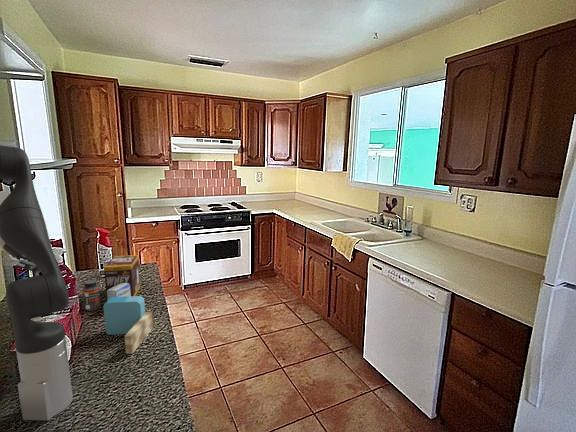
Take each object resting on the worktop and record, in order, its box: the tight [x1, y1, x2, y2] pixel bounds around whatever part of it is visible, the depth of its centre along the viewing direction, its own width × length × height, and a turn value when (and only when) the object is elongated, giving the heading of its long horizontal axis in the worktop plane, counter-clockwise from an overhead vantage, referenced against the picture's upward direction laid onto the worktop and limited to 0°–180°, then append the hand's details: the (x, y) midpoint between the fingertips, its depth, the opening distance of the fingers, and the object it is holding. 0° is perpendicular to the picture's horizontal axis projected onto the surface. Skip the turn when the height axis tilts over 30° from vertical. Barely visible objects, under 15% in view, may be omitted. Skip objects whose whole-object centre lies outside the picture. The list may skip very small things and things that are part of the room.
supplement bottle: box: [81, 279, 102, 312], centre depth 126 cm, size 6×6×11 cm
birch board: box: [124, 310, 155, 355], centre depth 106 cm, size 16×2×6 cm, turn 0°
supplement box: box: [103, 254, 141, 302], centre depth 139 cm, size 10×15×16 cm
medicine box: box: [106, 283, 131, 300], centre depth 128 cm, size 8×4×9 cm, turn 169°
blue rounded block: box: [102, 295, 146, 336], centre depth 110 cm, size 12×4×12 cm, turn 97°
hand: (54, 275), depth 108 cm, fingers closed
